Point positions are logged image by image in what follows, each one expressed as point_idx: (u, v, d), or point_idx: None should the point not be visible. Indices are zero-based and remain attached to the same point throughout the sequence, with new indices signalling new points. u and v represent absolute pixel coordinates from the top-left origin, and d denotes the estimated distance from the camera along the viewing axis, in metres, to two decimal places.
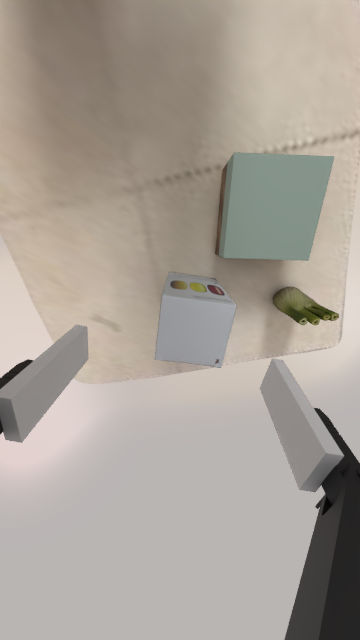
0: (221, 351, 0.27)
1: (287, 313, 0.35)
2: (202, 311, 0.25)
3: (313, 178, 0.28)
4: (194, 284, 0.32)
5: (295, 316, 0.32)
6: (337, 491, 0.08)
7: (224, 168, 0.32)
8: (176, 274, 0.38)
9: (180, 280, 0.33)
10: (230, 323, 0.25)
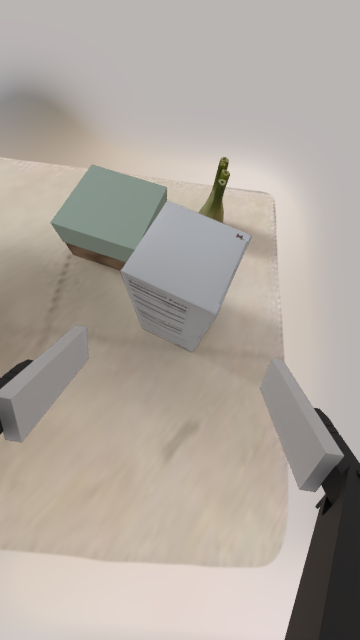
0: (224, 228, 0.20)
1: (215, 207, 0.32)
2: (159, 233, 0.19)
3: (100, 177, 0.33)
4: None
5: (217, 193, 0.30)
6: (337, 491, 0.08)
7: (70, 249, 0.36)
8: None
9: None
10: (187, 210, 0.20)
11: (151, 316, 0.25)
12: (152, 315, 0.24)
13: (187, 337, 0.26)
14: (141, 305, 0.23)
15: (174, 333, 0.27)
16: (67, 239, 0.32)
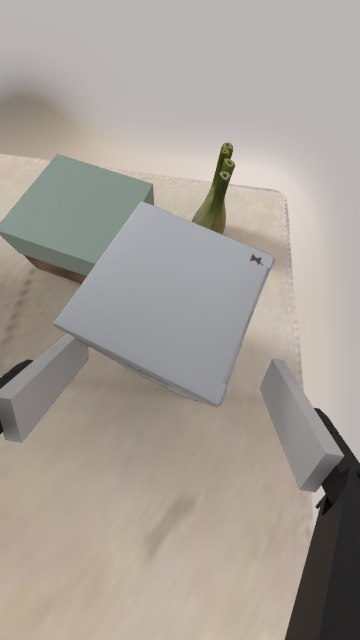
0: (231, 245, 0.12)
1: (216, 209, 0.25)
2: (124, 255, 0.11)
3: (67, 170, 0.26)
4: None
5: (218, 191, 0.23)
6: (337, 491, 0.08)
7: (31, 262, 0.28)
8: None
9: None
10: (172, 216, 0.13)
11: None
12: None
13: (177, 392, 0.19)
14: None
15: (159, 384, 0.19)
16: (22, 250, 0.25)
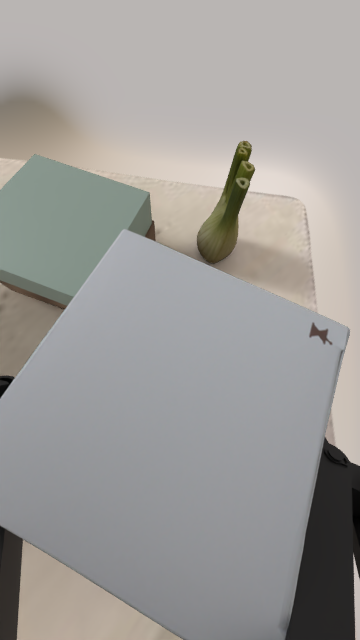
0: (276, 308, 0.07)
1: (229, 224, 0.20)
2: (89, 331, 0.06)
3: (45, 173, 0.21)
4: None
5: (233, 202, 0.18)
6: None
7: (4, 284, 0.23)
8: None
9: None
10: (175, 255, 0.08)
11: None
12: None
13: None
14: None
15: None
16: None
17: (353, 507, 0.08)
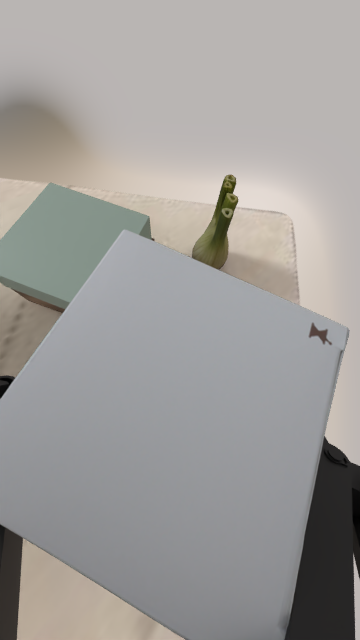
0: (275, 308, 0.07)
1: (218, 244, 0.23)
2: (89, 331, 0.06)
3: (59, 200, 0.24)
4: None
5: (220, 227, 0.21)
6: None
7: (23, 296, 0.27)
8: None
9: None
10: (175, 256, 0.08)
11: None
12: None
13: None
14: None
15: None
16: (8, 285, 0.24)
17: (353, 507, 0.08)
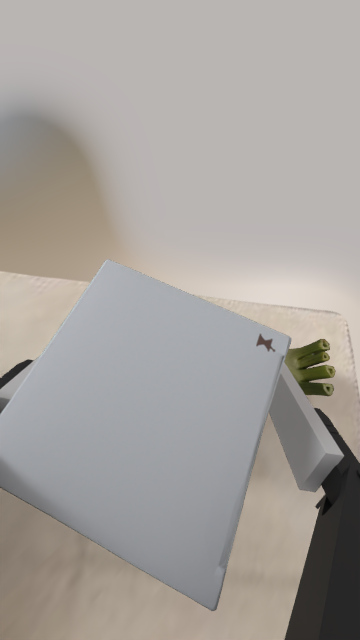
0: (230, 322, 0.09)
1: (305, 394, 0.24)
2: (78, 345, 0.08)
3: None
4: None
5: (315, 392, 0.22)
6: (337, 491, 0.08)
7: None
8: None
9: None
10: (148, 281, 0.09)
11: None
12: None
13: None
14: None
15: None
16: None
17: None
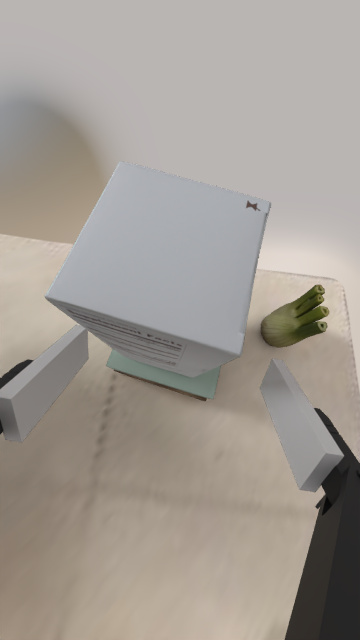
0: (224, 195, 0.11)
1: (301, 338, 0.26)
2: (112, 217, 0.10)
3: None
4: None
5: (310, 332, 0.24)
6: (337, 491, 0.08)
7: None
8: None
9: None
10: (157, 172, 0.12)
11: (127, 349, 0.16)
12: (128, 349, 0.16)
13: (185, 369, 0.18)
14: (107, 338, 0.15)
15: (165, 365, 0.19)
16: (121, 371, 0.27)
17: None
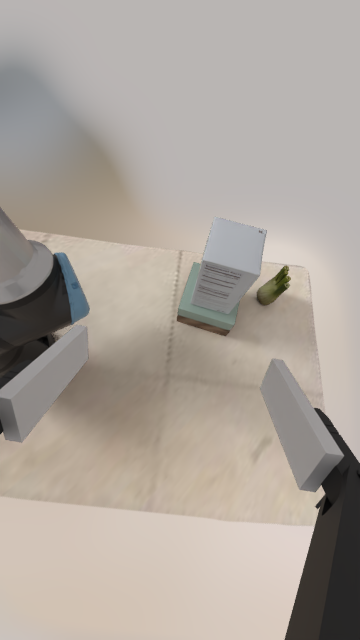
0: (251, 228, 0.34)
1: (278, 295, 0.49)
2: (217, 236, 0.33)
3: None
4: None
5: (282, 289, 0.47)
6: (337, 491, 0.08)
7: (177, 319, 0.52)
8: (192, 295, 0.46)
9: None
10: (228, 221, 0.34)
11: (208, 289, 0.39)
12: (209, 288, 0.38)
13: (230, 300, 0.41)
14: (204, 282, 0.37)
15: (221, 299, 0.41)
16: (182, 314, 0.50)
17: None
